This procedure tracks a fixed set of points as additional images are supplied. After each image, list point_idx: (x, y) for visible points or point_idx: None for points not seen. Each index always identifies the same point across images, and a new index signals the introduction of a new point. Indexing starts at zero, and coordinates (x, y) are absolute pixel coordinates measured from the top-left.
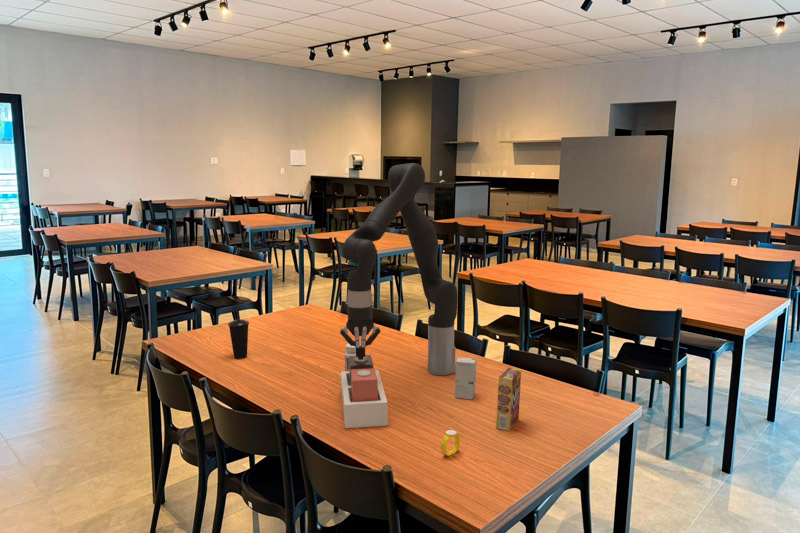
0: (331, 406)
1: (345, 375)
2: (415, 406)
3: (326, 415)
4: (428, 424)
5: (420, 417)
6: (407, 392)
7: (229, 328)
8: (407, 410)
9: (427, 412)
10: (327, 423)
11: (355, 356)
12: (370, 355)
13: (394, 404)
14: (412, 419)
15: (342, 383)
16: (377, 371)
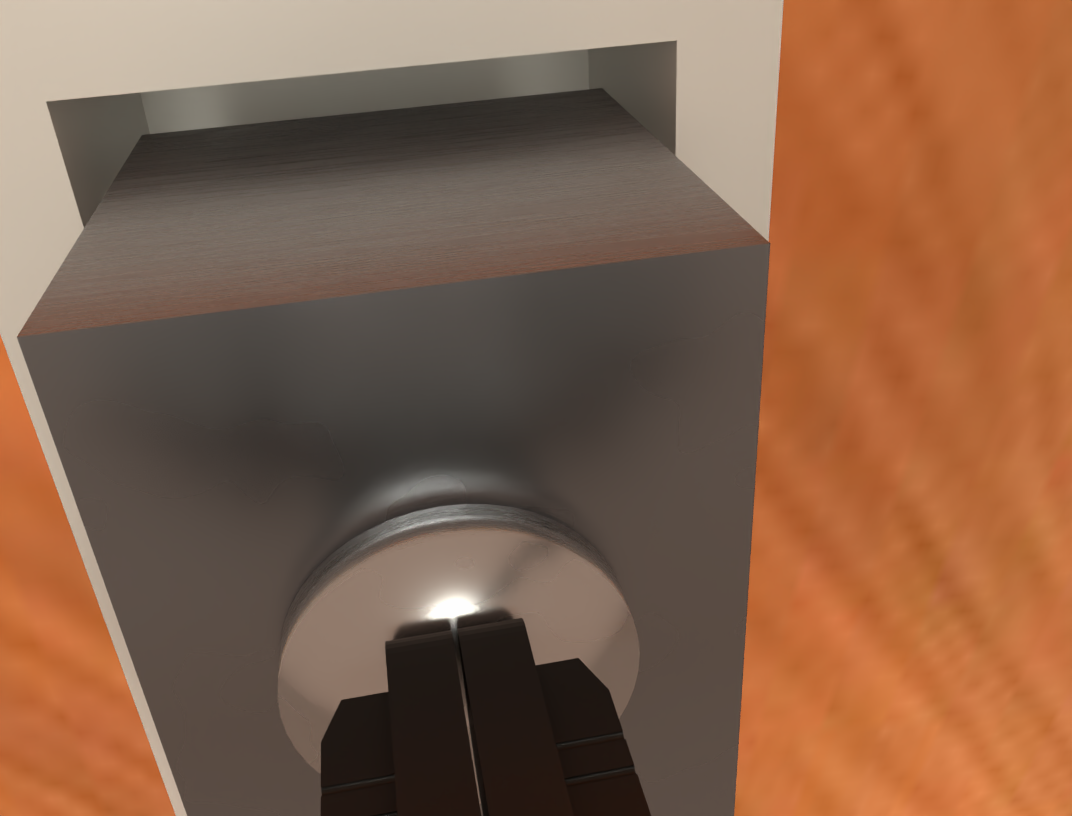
0: (11, 443)
1: (67, 242)
2: (991, 428)
3: (22, 650)
4: (972, 727)
5: (954, 631)
6: (1043, 19)
7: None
8: (886, 513)
9: (1048, 544)
10: (88, 785)
11: (275, 378)
12: (756, 292)
13: (791, 383)
14: (877, 666)
15: (104, 605)
16: (763, 29)
